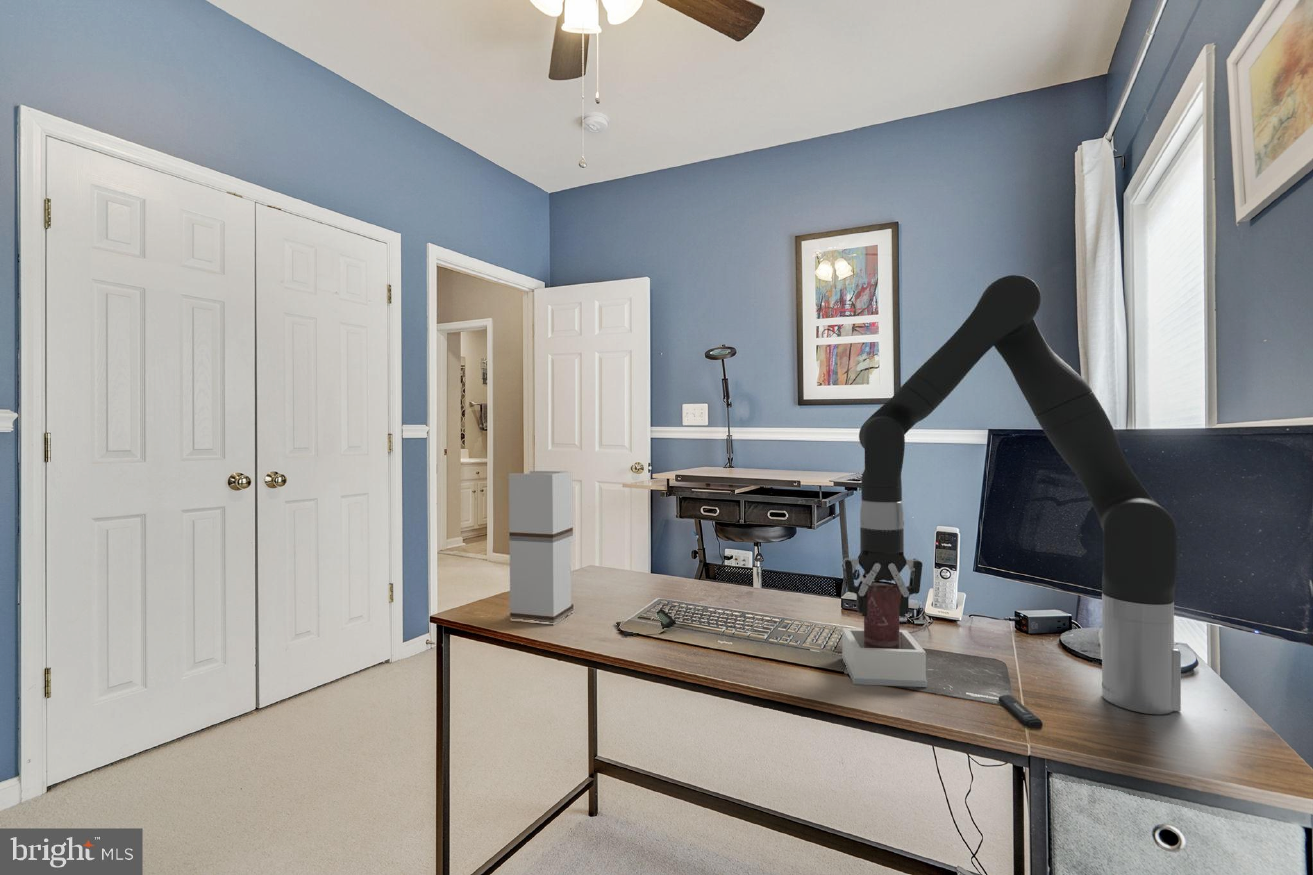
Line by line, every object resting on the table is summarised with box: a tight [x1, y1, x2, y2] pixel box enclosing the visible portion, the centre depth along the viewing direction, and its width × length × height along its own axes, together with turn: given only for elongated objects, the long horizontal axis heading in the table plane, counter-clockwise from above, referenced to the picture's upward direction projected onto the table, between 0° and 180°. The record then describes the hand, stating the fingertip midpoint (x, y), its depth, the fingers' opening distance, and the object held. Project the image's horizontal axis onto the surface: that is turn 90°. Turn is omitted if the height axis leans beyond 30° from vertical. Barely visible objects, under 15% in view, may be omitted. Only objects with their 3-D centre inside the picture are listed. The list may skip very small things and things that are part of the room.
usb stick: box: [998, 694, 1044, 729], centre depth 97 cm, size 10×3×2 cm, turn 175°
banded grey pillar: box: [508, 470, 574, 623], centre depth 150 cm, size 11×11×35 cm
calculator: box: [615, 608, 677, 637], centre depth 141 cm, size 9×12×3 cm
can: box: [863, 580, 901, 649], centre depth 114 cm, size 6×6×14 cm
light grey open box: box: [841, 627, 928, 688], centre depth 114 cm, size 12×12×6 cm
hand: (882, 615), depth 114 cm, fingers closed on can, 6 cm apart
